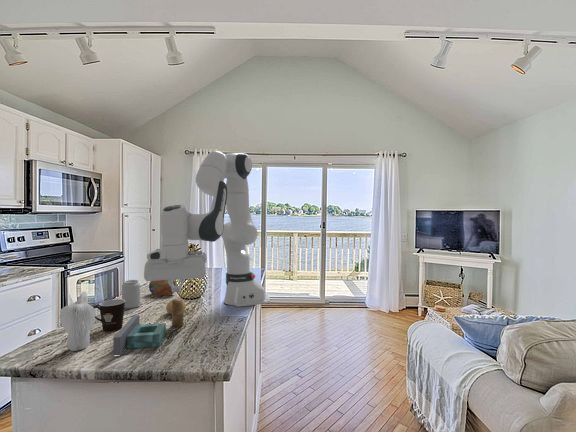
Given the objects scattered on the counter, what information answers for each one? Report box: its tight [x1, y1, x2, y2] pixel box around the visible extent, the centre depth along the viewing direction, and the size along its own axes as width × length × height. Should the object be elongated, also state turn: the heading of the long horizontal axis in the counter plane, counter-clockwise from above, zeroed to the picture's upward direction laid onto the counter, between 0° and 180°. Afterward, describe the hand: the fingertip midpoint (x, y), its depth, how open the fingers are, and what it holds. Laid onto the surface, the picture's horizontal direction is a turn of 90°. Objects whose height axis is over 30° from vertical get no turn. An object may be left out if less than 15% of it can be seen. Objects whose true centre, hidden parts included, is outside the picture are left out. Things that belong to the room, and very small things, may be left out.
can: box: [121, 279, 141, 310], centre depth 143 cm, size 8×8×12 cm
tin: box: [148, 280, 176, 296], centre depth 164 cm, size 15×3×8 cm, turn 77°
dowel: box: [171, 298, 184, 329], centre depth 120 cm, size 4×4×10 cm
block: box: [126, 322, 167, 349], centre depth 106 cm, size 10×10×4 cm
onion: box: [165, 297, 187, 315], centre depth 135 cm, size 8×8×7 cm
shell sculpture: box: [59, 290, 97, 352], centre depth 101 cm, size 8×8×18 cm
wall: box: [112, 314, 140, 356], centre depth 105 cm, size 2×20×6 cm, turn 10°
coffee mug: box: [92, 298, 125, 333], centre depth 118 cm, size 12×9×10 cm
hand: (176, 291), depth 108 cm, fingers closed
